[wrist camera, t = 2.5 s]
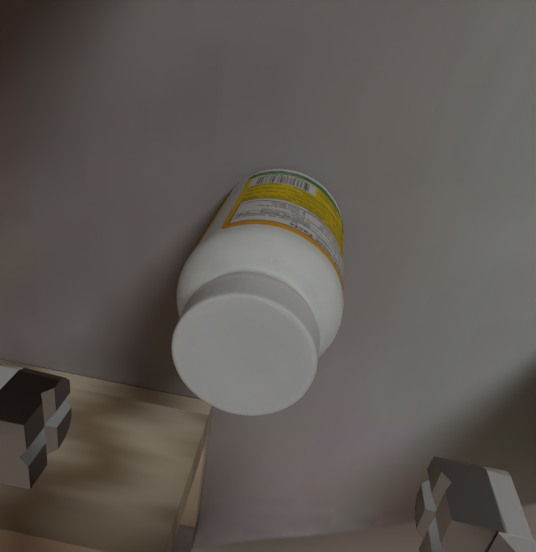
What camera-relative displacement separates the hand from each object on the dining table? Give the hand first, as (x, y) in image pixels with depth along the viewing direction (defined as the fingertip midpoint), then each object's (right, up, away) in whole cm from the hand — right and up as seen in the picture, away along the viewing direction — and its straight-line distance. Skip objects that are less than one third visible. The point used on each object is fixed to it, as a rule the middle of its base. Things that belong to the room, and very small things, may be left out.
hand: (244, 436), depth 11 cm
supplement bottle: (+1, +6, +11) cm, 12 cm away
